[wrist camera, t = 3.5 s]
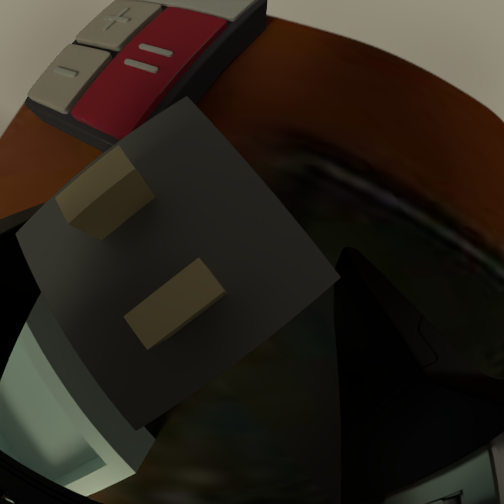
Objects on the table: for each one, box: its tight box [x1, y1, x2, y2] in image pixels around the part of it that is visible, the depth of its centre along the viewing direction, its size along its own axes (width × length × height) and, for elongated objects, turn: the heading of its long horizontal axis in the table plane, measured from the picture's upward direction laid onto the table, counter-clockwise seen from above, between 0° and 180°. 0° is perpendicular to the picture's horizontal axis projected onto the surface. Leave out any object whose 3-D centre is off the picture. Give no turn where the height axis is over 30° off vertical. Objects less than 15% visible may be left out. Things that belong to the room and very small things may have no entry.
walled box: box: [0, 292, 155, 503], centre depth 12 cm, size 12×12×4 cm
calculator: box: [25, 0, 267, 152], centre depth 16 cm, size 11×4×15 cm
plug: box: [16, 96, 341, 431], centre depth 10 cm, size 4×4×12 cm
